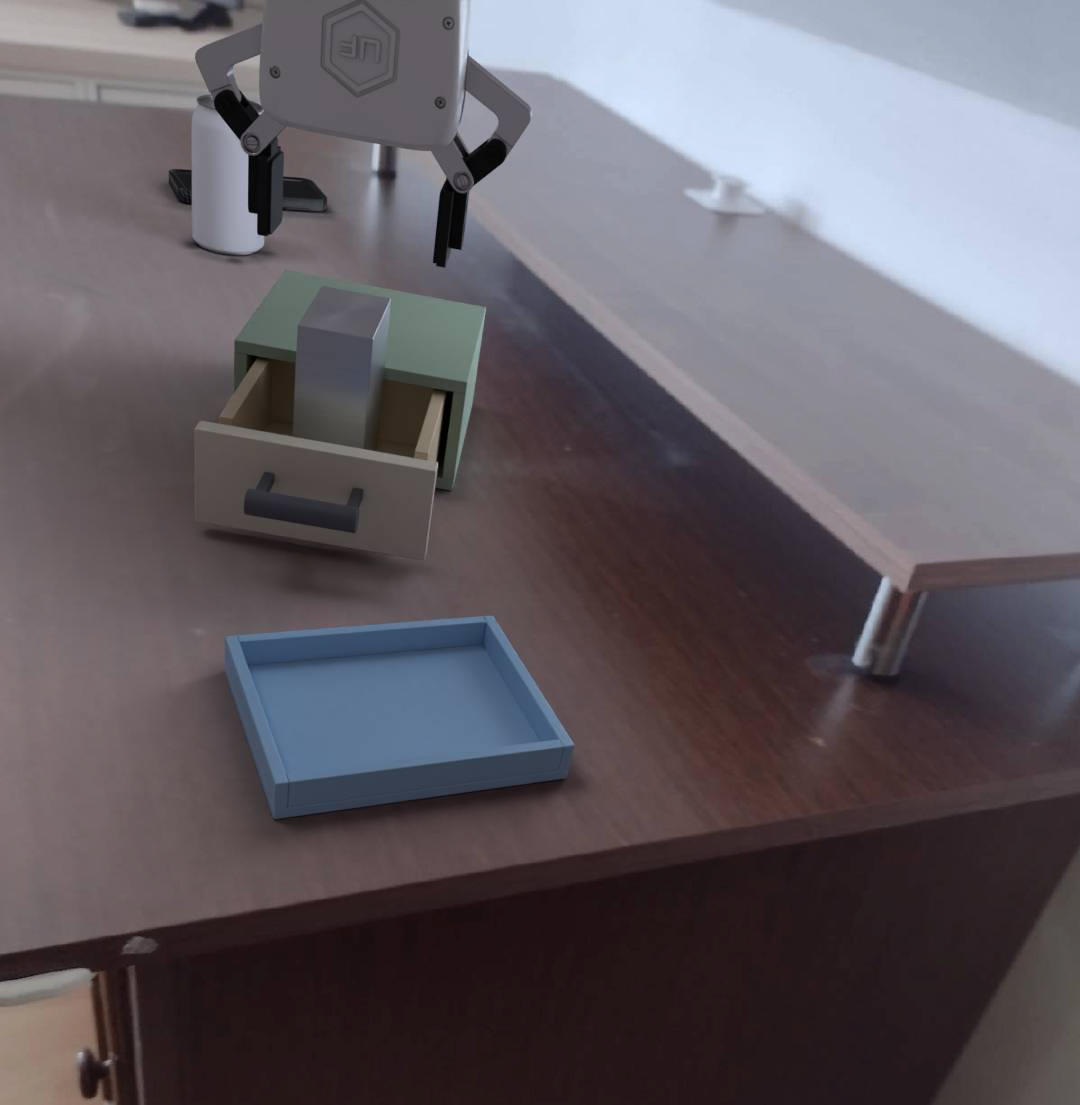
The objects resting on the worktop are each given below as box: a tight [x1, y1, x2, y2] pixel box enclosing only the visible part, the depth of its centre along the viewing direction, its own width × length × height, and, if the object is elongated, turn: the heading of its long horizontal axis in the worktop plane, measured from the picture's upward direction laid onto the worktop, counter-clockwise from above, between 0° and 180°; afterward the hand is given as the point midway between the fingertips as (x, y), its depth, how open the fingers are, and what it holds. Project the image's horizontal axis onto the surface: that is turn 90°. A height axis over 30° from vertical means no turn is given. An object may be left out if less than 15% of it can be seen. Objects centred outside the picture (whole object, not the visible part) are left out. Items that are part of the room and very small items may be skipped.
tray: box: [224, 615, 575, 820], centre depth 58 cm, size 14×11×2 cm
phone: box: [168, 168, 328, 212], centre depth 123 cm, size 8×1×15 cm
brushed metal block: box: [292, 286, 391, 452], centre depth 72 cm, size 4×7×10 cm, turn 177°
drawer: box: [193, 356, 447, 562], centre depth 71 cm, size 17×13×6 cm
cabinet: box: [233, 269, 487, 492], centre depth 82 cm, size 15×15×8 cm
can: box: [191, 94, 265, 256], centre depth 107 cm, size 6×6×12 cm
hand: (356, 244), depth 66 cm, fingers open, 9 cm apart
